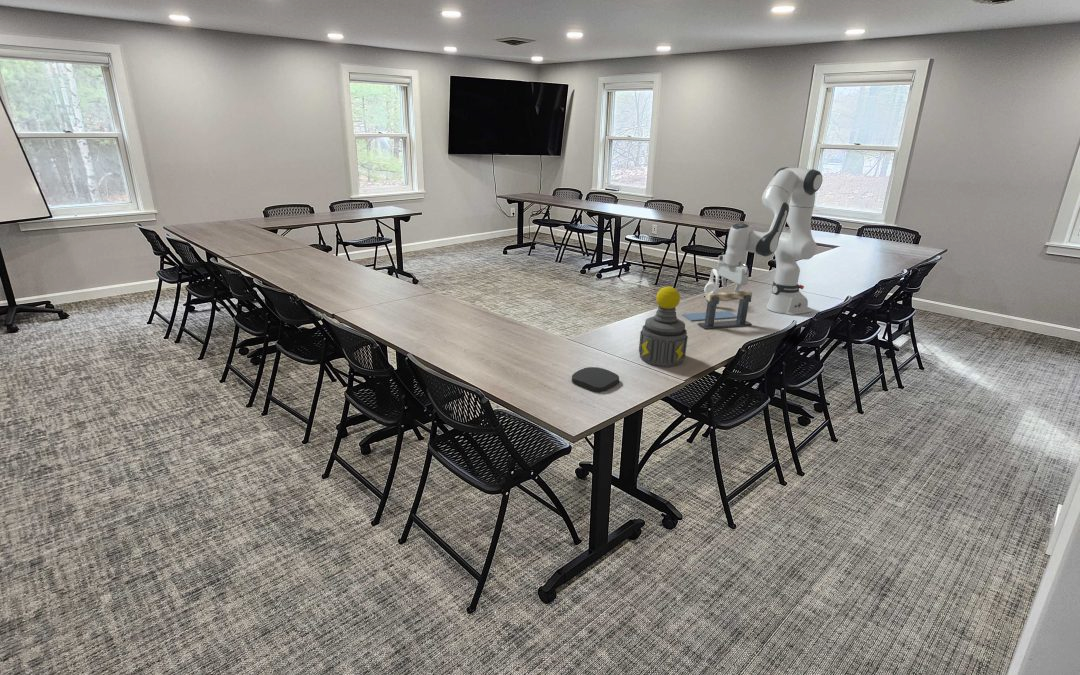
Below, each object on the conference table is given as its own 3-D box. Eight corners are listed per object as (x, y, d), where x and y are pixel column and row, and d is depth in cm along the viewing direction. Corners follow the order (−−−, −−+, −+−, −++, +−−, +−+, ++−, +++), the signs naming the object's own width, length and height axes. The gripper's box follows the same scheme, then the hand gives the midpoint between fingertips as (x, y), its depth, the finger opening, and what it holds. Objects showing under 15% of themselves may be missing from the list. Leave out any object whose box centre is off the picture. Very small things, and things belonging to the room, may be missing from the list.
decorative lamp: (695, 361, 226) (704, 289, 215) (660, 371, 216) (669, 296, 206) (661, 346, 241) (669, 278, 230) (628, 354, 231) (634, 284, 220)
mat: (728, 312, 286) (728, 310, 286) (738, 317, 278) (738, 316, 278) (682, 315, 280) (682, 314, 280) (691, 321, 272) (691, 320, 272)
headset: (720, 308, 292) (725, 275, 285) (706, 307, 293) (711, 274, 286) (714, 297, 310) (719, 265, 304) (701, 296, 311) (705, 265, 305)
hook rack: (744, 321, 273) (748, 291, 268) (751, 325, 268) (756, 295, 263) (697, 324, 267) (702, 294, 262) (704, 329, 262) (708, 298, 256)
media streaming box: (599, 395, 197) (600, 387, 196) (567, 382, 206) (567, 375, 205) (623, 382, 207) (623, 375, 206) (591, 370, 216) (591, 363, 215)
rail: (747, 296, 267) (748, 290, 266) (751, 298, 264) (752, 292, 263) (706, 299, 261) (706, 293, 260) (709, 301, 259) (710, 295, 258)
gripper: (754, 265, 248) (749, 295, 252) (728, 254, 266) (723, 283, 271) (741, 265, 246) (736, 296, 251) (716, 255, 264) (712, 283, 269)
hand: (729, 289), depth 261 cm, fingers open, 8 cm apart
